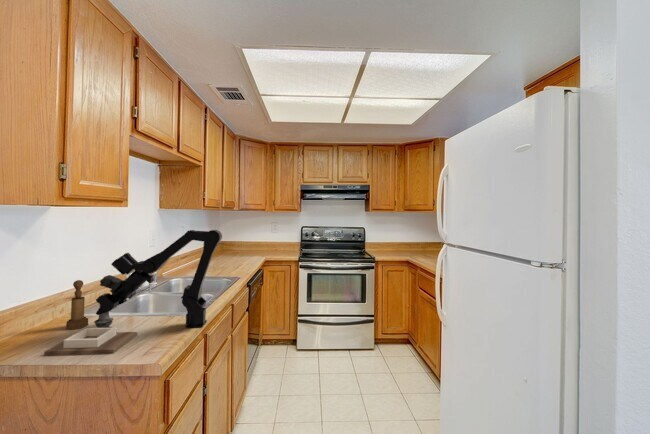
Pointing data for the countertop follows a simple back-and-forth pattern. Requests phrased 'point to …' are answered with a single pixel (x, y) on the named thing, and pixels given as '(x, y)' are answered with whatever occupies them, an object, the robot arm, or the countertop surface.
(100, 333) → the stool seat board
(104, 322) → the salt shaker
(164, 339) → the countertop surface
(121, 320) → the countertop surface
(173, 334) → the countertop surface
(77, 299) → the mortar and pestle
